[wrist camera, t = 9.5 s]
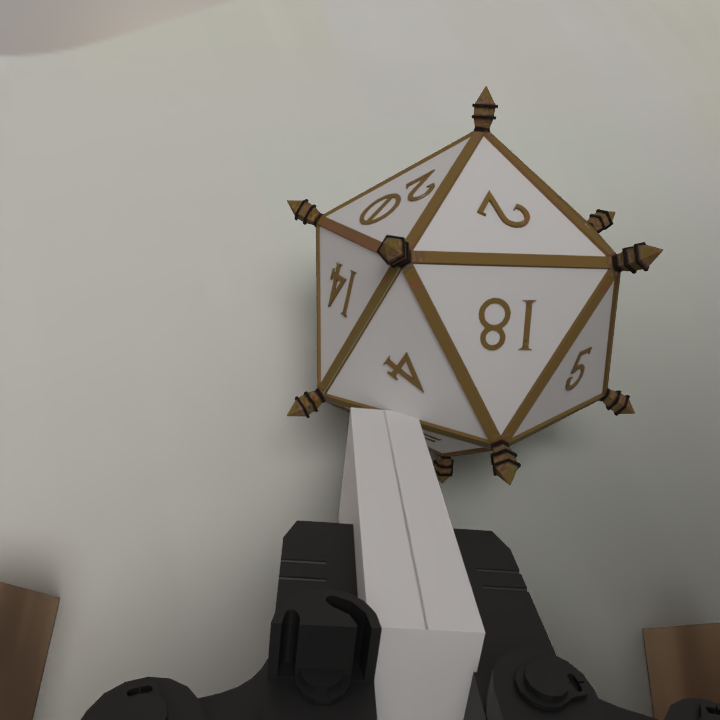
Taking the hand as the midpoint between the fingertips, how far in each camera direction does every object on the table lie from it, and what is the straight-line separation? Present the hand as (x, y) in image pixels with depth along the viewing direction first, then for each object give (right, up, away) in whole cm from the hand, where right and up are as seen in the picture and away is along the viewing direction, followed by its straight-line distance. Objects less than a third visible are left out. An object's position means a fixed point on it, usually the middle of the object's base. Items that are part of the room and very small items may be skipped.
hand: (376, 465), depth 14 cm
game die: (+2, +1, +5) cm, 5 cm away
